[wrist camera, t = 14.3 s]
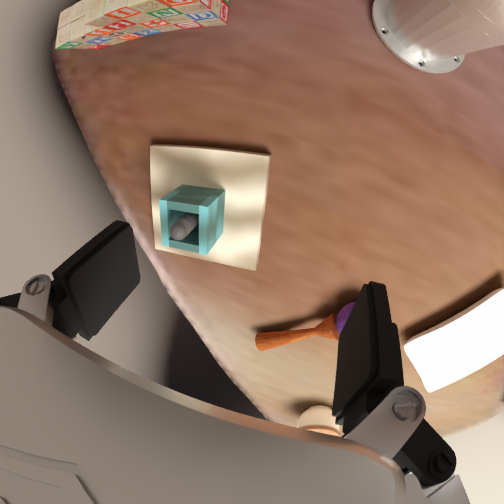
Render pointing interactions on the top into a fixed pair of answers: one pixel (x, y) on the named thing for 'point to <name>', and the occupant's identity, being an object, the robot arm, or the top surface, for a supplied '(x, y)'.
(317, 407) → the lidded jar
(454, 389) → the top surface
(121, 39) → the stack of blocks
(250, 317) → the top surface
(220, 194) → the open box
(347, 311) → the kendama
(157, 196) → the cream peg stand
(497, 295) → the salad plate
